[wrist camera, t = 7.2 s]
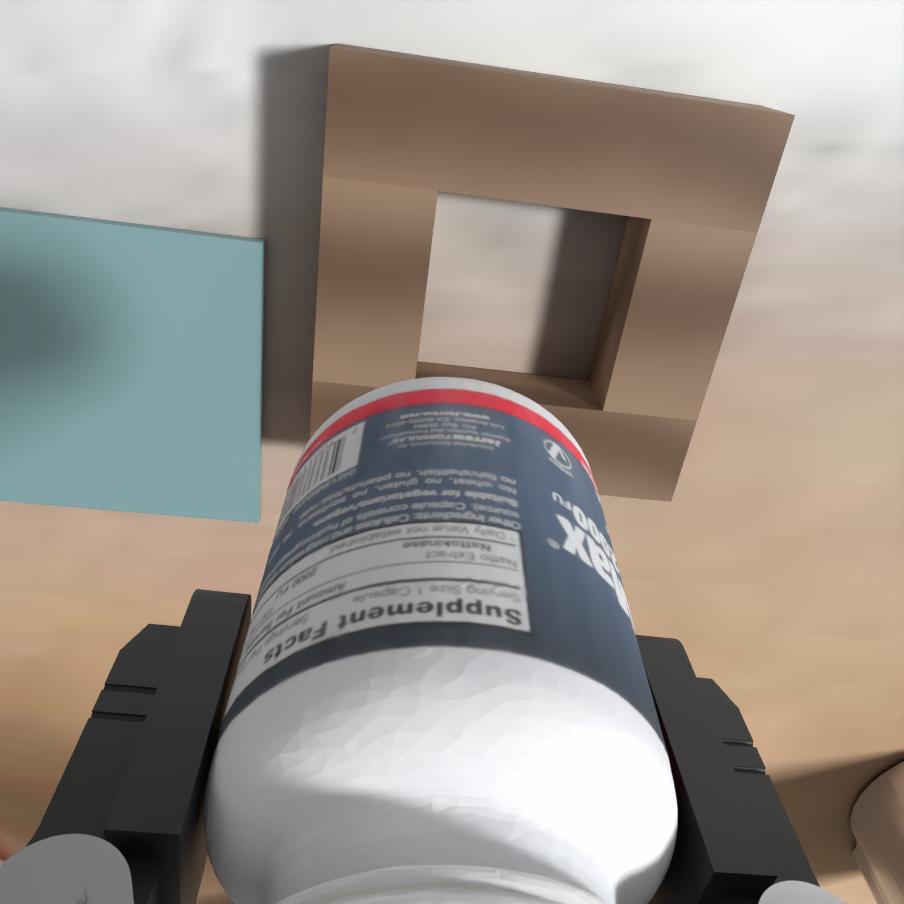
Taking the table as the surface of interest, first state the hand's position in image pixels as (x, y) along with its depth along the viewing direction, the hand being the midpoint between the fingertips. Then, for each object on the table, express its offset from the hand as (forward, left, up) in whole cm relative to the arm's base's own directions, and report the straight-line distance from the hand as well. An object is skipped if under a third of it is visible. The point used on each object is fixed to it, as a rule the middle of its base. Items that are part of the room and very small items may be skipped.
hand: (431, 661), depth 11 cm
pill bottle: (+1, 0, -3) cm, 4 cm away
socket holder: (0, -3, -18) cm, 18 cm away
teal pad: (-5, +11, -18) cm, 21 cm away
